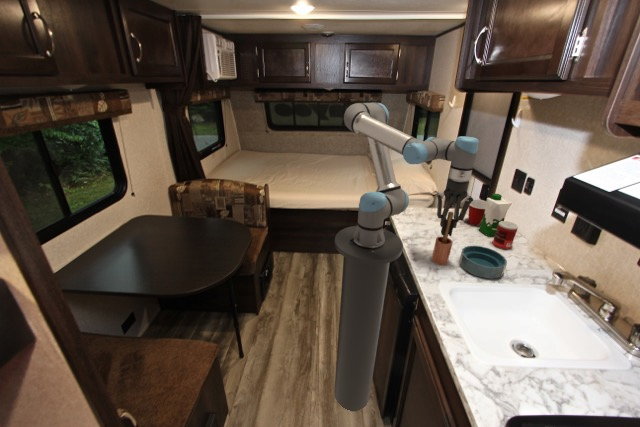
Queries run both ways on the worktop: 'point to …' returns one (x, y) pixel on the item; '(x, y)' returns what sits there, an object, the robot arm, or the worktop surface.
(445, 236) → the stick
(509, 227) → the canned food
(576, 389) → the worktop surface
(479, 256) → the bowl
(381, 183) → the robot arm
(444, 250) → the crock
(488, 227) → the milk carton
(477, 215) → the plastic cup
